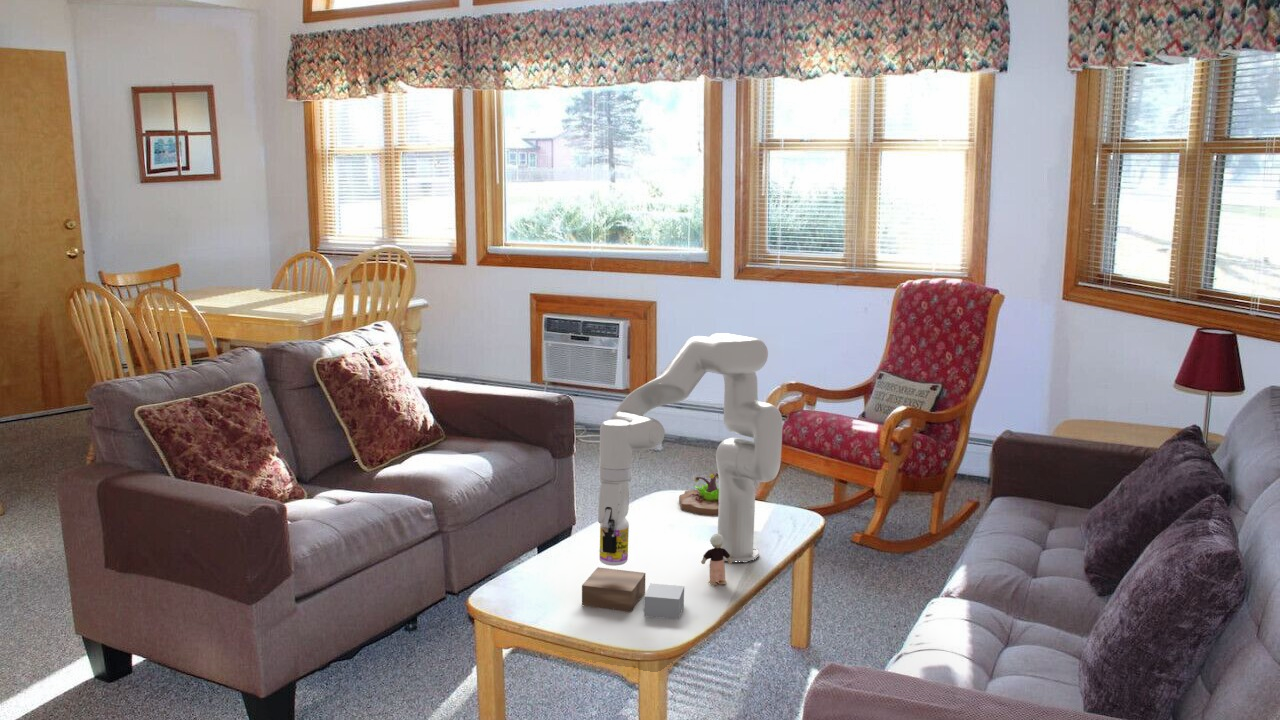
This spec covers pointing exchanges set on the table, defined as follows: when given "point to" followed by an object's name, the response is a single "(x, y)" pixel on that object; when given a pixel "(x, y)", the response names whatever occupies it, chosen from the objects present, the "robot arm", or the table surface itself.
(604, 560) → the supplement bottle
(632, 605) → the walnut block
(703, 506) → the plant
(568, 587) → the table surface
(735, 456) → the robot arm
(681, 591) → the grey block
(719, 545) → the grandmother figurine
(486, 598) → the table surface
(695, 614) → the table surface
